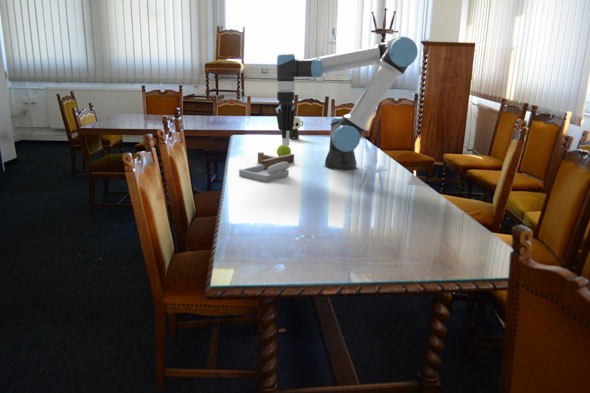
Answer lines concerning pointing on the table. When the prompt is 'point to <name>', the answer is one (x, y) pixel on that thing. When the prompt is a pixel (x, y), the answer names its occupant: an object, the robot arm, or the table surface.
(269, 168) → the donut
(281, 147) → the tennis ball
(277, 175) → the tray
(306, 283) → the table surface
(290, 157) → the t rack
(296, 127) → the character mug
